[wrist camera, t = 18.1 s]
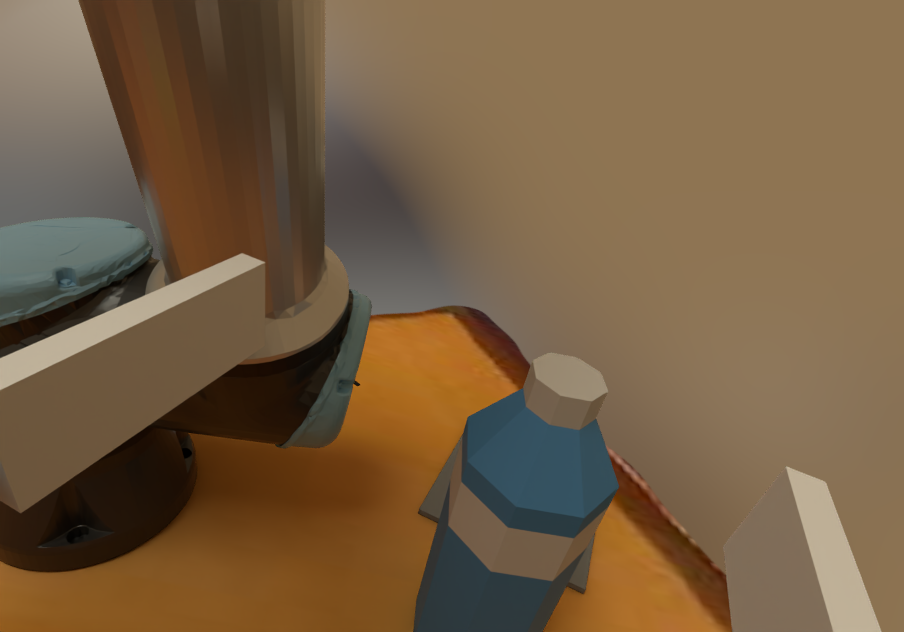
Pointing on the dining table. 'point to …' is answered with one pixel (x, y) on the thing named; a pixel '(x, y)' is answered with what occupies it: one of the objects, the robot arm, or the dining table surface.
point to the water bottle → (519, 504)
